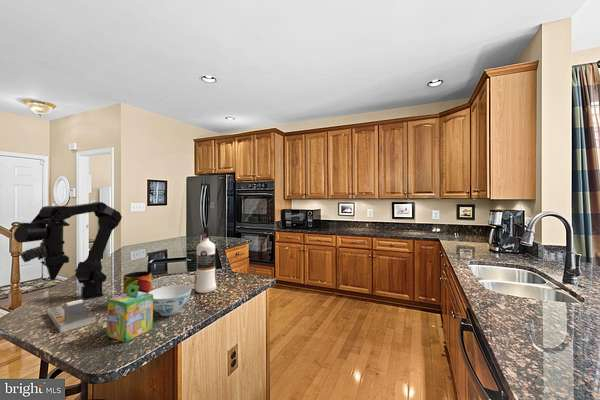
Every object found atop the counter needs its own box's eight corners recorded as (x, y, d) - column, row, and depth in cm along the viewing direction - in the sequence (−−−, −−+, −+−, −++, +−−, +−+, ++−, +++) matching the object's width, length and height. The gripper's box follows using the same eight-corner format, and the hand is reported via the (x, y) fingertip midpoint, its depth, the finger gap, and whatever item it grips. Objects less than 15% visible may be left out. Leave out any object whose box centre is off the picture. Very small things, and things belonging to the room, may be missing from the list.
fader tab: (82, 312, 91) (82, 298, 91) (84, 314, 89) (84, 300, 89) (64, 317, 87) (64, 302, 87) (66, 319, 85) (66, 304, 85)
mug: (150, 294, 114) (150, 268, 115) (151, 305, 103) (151, 275, 103) (124, 299, 109) (124, 271, 109) (122, 310, 98) (122, 279, 98)
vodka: (219, 287, 125) (219, 225, 125) (211, 293, 115) (211, 227, 116) (200, 286, 125) (201, 225, 126) (191, 293, 116) (191, 227, 116)
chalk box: (105, 337, 78) (106, 288, 78) (135, 324, 87) (135, 280, 87) (124, 343, 75) (125, 292, 75) (153, 329, 83) (154, 283, 83)
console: (79, 306, 102) (79, 295, 102) (95, 322, 88) (95, 309, 88) (47, 314, 94) (47, 302, 94) (60, 332, 81) (60, 318, 81)
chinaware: (199, 305, 102) (199, 286, 102) (173, 323, 87) (173, 300, 87) (166, 302, 105) (166, 284, 105) (136, 319, 90) (136, 297, 90)
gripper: (18, 239, 97) (18, 280, 96) (25, 243, 85) (24, 290, 85) (58, 236, 105) (58, 274, 105) (69, 240, 94) (69, 282, 94)
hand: (52, 279), depth 97 cm, fingers closed
